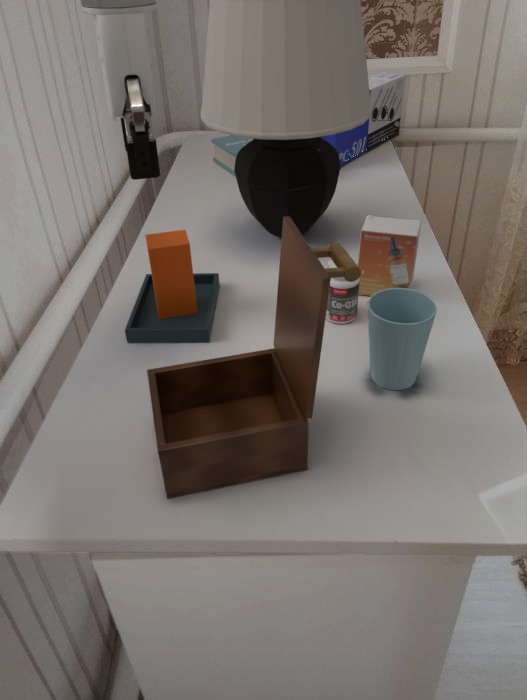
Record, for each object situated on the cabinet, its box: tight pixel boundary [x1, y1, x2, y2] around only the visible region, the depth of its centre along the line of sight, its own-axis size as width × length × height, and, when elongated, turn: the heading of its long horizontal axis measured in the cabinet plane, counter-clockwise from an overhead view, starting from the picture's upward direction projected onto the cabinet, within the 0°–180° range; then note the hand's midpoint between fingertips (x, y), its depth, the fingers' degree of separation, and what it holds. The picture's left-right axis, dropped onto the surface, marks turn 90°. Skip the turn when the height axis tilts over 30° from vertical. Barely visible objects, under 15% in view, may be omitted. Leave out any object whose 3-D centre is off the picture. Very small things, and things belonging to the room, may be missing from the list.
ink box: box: [321, 71, 406, 167], centre depth 137 cm, size 30×7×14 cm, turn 142°
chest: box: [146, 347, 310, 499], centre depth 64 cm, size 15×13×7 cm
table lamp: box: [200, 0, 372, 238], centre depth 95 cm, size 27×27×40 cm
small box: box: [357, 214, 422, 297], centre depth 87 cm, size 8×6×10 cm
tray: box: [124, 272, 221, 344], centre depth 86 cm, size 15×11×2 cm
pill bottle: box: [325, 257, 359, 325], centre depth 82 cm, size 5×5×8 cm
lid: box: [273, 216, 361, 419], centre depth 59 cm, size 15×13×5 cm
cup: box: [366, 288, 438, 391], centre depth 71 cm, size 8×8×10 cm
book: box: [211, 135, 253, 178], centre depth 131 cm, size 23×16×5 cm
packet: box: [144, 229, 198, 319], centre depth 83 cm, size 6×4×11 cm
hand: (142, 163), depth 70 cm, fingers open, 9 cm apart
